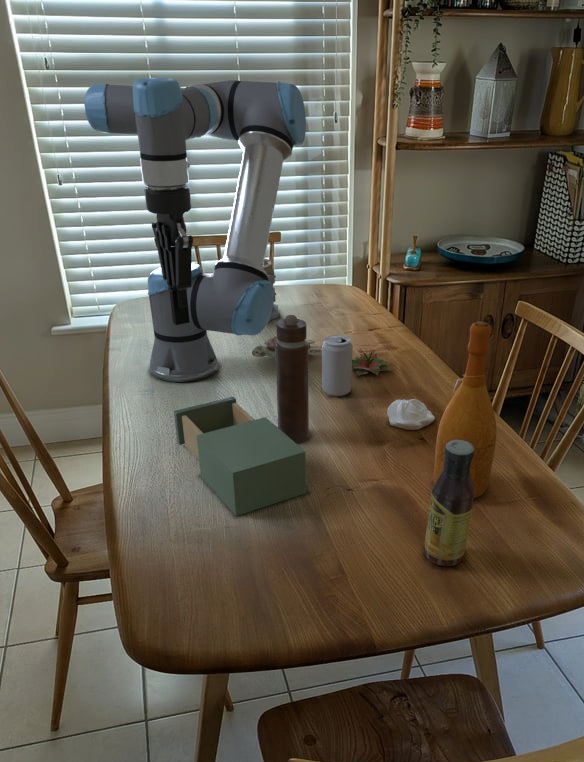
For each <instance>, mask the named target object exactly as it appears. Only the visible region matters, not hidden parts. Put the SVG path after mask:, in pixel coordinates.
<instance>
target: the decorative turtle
mask: <svg viewBox="0 0 584 762" xmlns="http://www.w3.org/2000/svg"><path fill="white" fill-rule="evenodd" d="M277 341H278V339H277V335H275V336H273V337H270V338H267V339H265V340H264V341H263V344H262V345H257V346H255V347H253V349H252V351H251V354H252V356H254V357H257V358H264V357H270V358H273V359H274V360H275V361H276V352H275V343H276V342H277ZM305 341H307V342H308V355H311V356H312V355H313V356H316V355H317V356H318V355H320V354H322V348H314V347H311V345H313V344H315V343H316V341H315V340H311V339H307V340H306V339H305Z"/></svg>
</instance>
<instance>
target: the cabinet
mask: <svg viewBox="0 0 584 762" xmlns="http://www.w3.org/2000/svg"><path fill="white" fill-rule="evenodd" d="M197 444H198V454H199V461H198V462H199V473H200V477H201V478H202V480H203V481H204V482H205V483H206V484H207V485H208V486H209V487H210V488H211V490H212V491H213V492H214V493H215V494H216V495H217V497H218V498H219V499H220V501H222V502H223V503H224V504H225V506H226V507H227V508H228V509H229V510H230V511H231V512H232V514H234V516H236V517H238V516H241V515H244V514H246V513H250V512H253V511H257V510H260V509H261V508H262V509H263V508H265V507H268V506H271V505H274V504H277V503H280V502H283V501H286V500H290V499H293V498H296V497H299V496H302V495H305V494H306V493H307V477H306V476H307V473H306V472H307V469H306V468H307V465H306V461H307V459H306V450H304V449H303V448H302V447H301V446H300V445H298V443H295V442H294V441H293V440H291V439H290V438H289V437H288V436H287V435H286V434H285V433H283V432H282V431H281V430H280V429H279V428H278V426H276V425H275V424H274V423H273V422H272V421H270V420H269V418H267V416H263V417H261V418H260V417H259V418H257V419H255V420H253V421H249V422H245V423H241V424H238V425H234V426H230V427H226V428H222V429H219V430H215V431H211V432H207V433H204V434H200V435H197Z"/></svg>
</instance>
